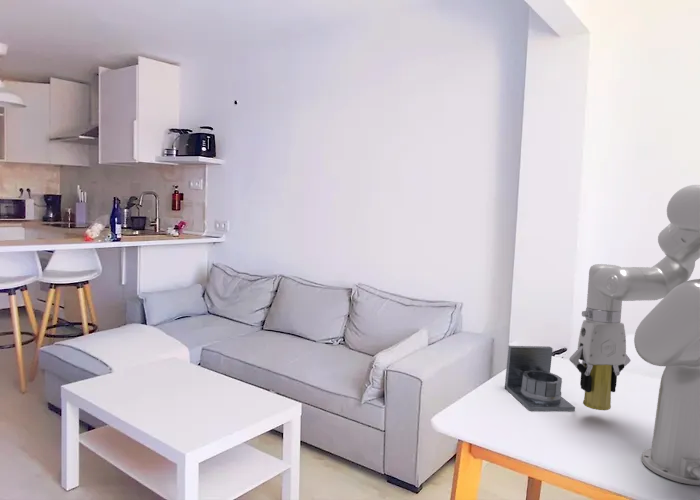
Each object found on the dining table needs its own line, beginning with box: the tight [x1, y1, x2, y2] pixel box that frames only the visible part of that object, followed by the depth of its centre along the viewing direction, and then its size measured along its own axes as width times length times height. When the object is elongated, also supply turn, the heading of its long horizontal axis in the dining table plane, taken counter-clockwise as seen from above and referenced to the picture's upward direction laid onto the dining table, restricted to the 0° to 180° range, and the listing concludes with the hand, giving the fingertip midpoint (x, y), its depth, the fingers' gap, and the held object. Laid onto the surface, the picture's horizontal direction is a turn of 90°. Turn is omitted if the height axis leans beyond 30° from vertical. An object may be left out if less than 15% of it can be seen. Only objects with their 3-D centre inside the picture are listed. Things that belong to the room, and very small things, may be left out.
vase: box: [582, 365, 612, 411], centre depth 128 cm, size 6×6×14 cm
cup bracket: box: [504, 345, 576, 412], centre depth 140 cm, size 15×12×12 cm
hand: (597, 389), depth 128 cm, fingers closed on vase, 5 cm apart
